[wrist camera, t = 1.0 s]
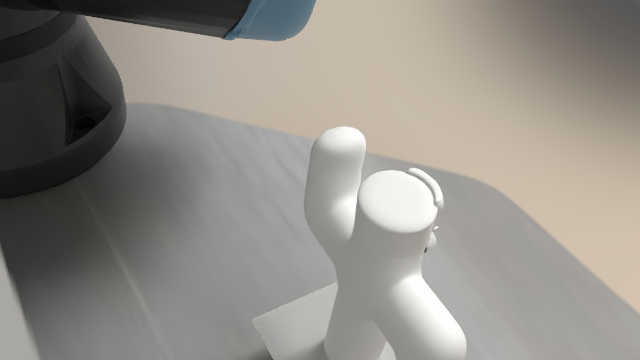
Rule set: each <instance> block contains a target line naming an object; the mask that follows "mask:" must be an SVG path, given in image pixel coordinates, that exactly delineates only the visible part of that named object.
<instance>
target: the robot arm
mask: <svg viewBox="0 0 640 360" xmlns="http://www.w3.org/2000/svg"><path fill="white" fill-rule="evenodd" d="M315 2H316V0H0V197H9V196H15V195H21V194H26V193H30V192H34V191H38V190H41V189H45V188H48V187H51V186H54V185H56V184H59V183H61V182H63V181H66V180H68V179H70V178H72V177H74V176H76V175H78V174H79V173H81V172H83V171H84V170H86V169H88V168H89V167H90V166H92V165H93V164H95V163H96V162H97V161H98V160H100V159H101V158H102V157H103V156H104V155H105V154H106V153H107V152H108V151H109V150H110V149H111V148H112V146H113V145H114V144H115V143H116V141H117V140H118V138H119V136H120V134H121V132H122V130H123V128H124V124H125V120H126V104H125V99H124V92H123V86H122V82H121V79H120V76H119V74H118V72H117V69H116V68H115V66H114V64H113V63H112V61H111V60H110V58H109V56H108V55H107V53H106V51H105V50H104V48H103V46H102V45H101V43H100V41H99V40H98V38H97V36H96V35H95V33H94V31H93V30H92V28H91V27H90V25H89V23H88V22H87V20H86V18H85V17H84V15H85V16H91V17H98V18H103V19H109V20H115V21H122V22H128V23H134V24H140V25H147V26H152V27H159V28H165V29H171V30H177V31H184V32H190V33H195V34H201V35H208V36H214V37H220V38H222V39H225V40H234V39H235V38H243V39H256V40H268V41H282V40H286V39H288V38H291V37H294V36H295V35H297V34H298V33H299V32H300V31H301V30H302V29H303V28H304V27H305V25H306V24H307V22H308V20H309V18H310V16H311V13H312V11H313V8H314V5H315Z"/></svg>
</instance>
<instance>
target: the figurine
mask: <svg viewBox="0 0 640 360" xmlns="http://www.w3.org/2000/svg"><path fill="white" fill-rule="evenodd" d="M365 150H366V141H365V138H364V136H363V134H362V133H361V132H360V131H358V130H357V129H355V128H352V127H337V128H332V129H330V130H327V131H326V132H324V133H323V134H321V135H320V136H319V137H318V138H317V139H316V140H315V142H314V144H313V147H312V150H311V156H310V162H309V169H308V176H307V183H306V190H305V197H304V213H305V218H306V221H307V224H308V226H309V227H310V229H311V231H312V232H313V234H314V235H315V237H316V238H317V240H318V241H319V243H320V244H321V246H322V247H323V248H324V250H325V251H326V253H327V254H328V256H329V257H330V259H331V260H332V262H333V264H334V266H335V269H336V273H337V279H338V281H337V282H335V283H333V284H331V285H328V286H326V287H324V288H322V289H319V290H317V291H315V292H312V293H310V294H308V295H306V296H303V297H301V298H299V299H297V300H294V301H292V302H290V303H288V304H285V305H283V306H281V307H278V308H276V309H274V310H272V311H269V312H267V313H265V314H263V315H260V316H258V317H256V318H254V319H251V320H252V322H253V323H254V325H255V327H256V329H257V331H258V333H259V334H260V336H261V338H262V340H263V342H264V344H265V345H266V347H267V349H268V351H269V353H270V355H271V356H272V358H273V360H464V358H465V354H466V340H465V336H464V333H463V331H462V330H461V328H460V326H459V325H458V323H457V322H456V321H455V319H454V318H453V317H452V316H451V314H450V313H449V312H448V310H447V309H446V308H445V307H444V305H443V304H442V303H441V302H440V300H439V299H438V298H437V296H436V295H435V294H434V293H433V291H432V290H431V289H430V288H429V286H428V285H427V284H426V283H425V281H424V280H423V278H422V273H421V262H422V258H423V254H424V253H425V252H428V251H430V250H432V249H434V248H435V247H436V238H435V236H434V234H433V232H435V231H437V230H438V228H439V227H437V226H436V224H437V221H438V219H439V216H440V214H441V211H442V208H443V194H442V192H441V189H440V187H439V185H438V184H437V183H436V181H435V180H434V179H432V178H431V177H430V176H429V175H427V174H426V173H424V172H423V171H421V170H419V169H416V168H411V169H408V170H406V171H405V172H401V171H381V172H377V173H375V174H373V175H370V176H369V177H368V178H366V179H365V180H364V181H363V182H362V184H361V186H360V178H361V169H362V164H363V160H364V155H365Z"/></svg>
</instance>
